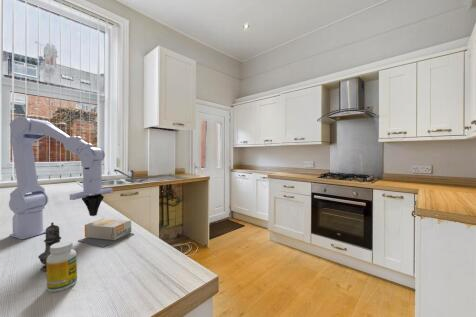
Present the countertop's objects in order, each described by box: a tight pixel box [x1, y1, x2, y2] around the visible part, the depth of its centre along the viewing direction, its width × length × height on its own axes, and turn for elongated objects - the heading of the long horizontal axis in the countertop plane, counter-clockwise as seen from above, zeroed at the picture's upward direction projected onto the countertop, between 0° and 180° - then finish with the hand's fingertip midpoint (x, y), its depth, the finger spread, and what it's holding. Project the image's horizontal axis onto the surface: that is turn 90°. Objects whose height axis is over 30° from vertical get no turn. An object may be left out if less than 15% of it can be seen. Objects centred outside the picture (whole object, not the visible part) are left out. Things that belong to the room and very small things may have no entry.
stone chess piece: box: [37, 222, 62, 273], centre depth 57 cm, size 6×6×12 cm
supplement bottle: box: [46, 240, 78, 293], centre depth 49 cm, size 5×5×10 cm
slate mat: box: [77, 232, 135, 248], centre depth 77 cm, size 13×12×1 cm
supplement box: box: [84, 218, 132, 240], centre depth 79 cm, size 8×5×13 cm
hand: (93, 215), depth 80 cm, fingers closed
